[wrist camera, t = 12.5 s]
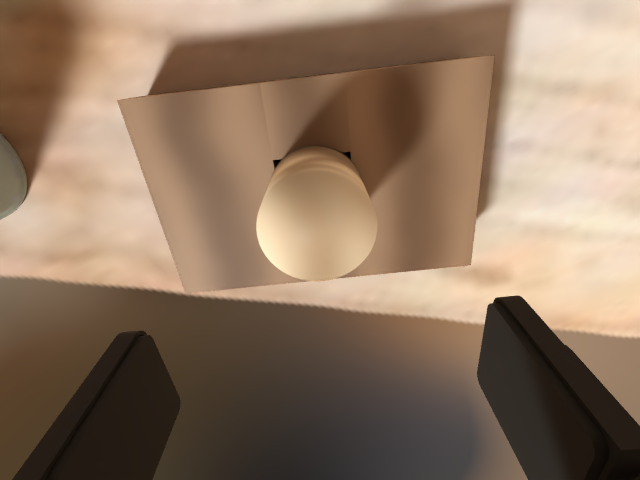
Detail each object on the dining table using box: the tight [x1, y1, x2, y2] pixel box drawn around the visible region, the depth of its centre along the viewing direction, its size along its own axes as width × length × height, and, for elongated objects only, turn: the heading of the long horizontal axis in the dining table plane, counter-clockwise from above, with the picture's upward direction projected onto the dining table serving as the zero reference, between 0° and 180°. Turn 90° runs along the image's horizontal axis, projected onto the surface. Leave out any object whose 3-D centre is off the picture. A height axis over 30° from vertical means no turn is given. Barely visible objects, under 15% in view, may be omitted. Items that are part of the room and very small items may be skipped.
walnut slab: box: [117, 55, 495, 293], centre depth 24 cm, size 22×14×4 cm, turn 96°
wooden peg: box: [256, 145, 377, 281], centre depth 21 cm, size 6×6×10 cm
